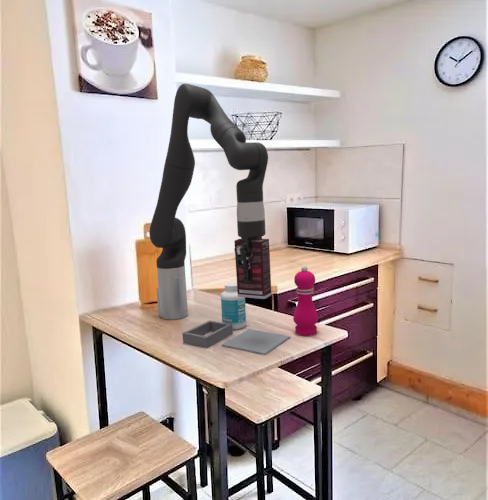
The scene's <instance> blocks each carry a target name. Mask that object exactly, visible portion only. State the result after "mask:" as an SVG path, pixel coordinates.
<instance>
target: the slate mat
mask: <svg viewBox="0 0 488 500" xmlns="http://www.w3.org/2000/svg"><path fill="white" fill-rule="evenodd" d="M290 339H291V335H285V334H278V333H273V332H269V331H263V330H257V329H251V328H248V329H247V330H245V331H243V332H240V333H239V334H237V335H236V336H234V337H232V338H230V339H229V340H227V341H225V342H223V343H221V347H223V348H224V347H225V348H230V349H233V350H238V351H244V352H247V353H253V354H257V355H263V356H266V355H267V354H269V353H270V352H273V351H274V350H275V349H277V348H278V347H279V346H281V345H282V344H284V343H285V342H287V341H288V340H290Z"/></svg>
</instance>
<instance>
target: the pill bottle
mask: <svg viewBox="0 0 488 500" xmlns="http://www.w3.org/2000/svg"><path fill="white" fill-rule="evenodd" d="M224 289H225V290H223V291H222V293H221V294H220V304H221V307H220V308H221V322H222V323H228V324H232V329H233V330H239V329H240V330H241V329H243V328H245V327H246V325H247V314H246V313H247V311H246V297H238V292H237V282H227V283H225V284H224Z"/></svg>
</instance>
